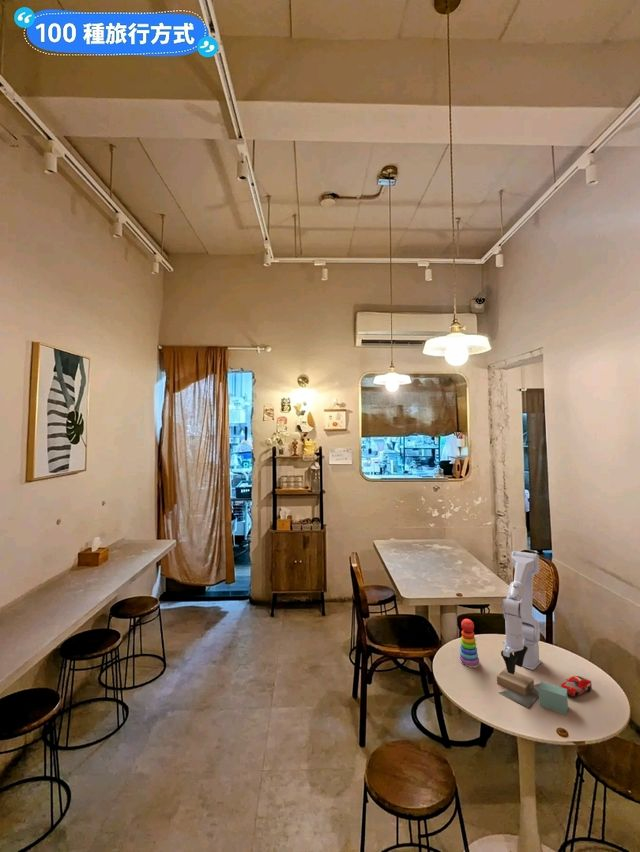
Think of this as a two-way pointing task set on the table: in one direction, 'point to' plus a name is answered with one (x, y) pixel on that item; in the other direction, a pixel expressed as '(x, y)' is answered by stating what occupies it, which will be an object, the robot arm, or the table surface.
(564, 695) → the teal brick
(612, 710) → the table surface
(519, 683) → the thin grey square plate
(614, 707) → the table surface
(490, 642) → the table surface
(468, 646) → the stacking toy
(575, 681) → the race car
